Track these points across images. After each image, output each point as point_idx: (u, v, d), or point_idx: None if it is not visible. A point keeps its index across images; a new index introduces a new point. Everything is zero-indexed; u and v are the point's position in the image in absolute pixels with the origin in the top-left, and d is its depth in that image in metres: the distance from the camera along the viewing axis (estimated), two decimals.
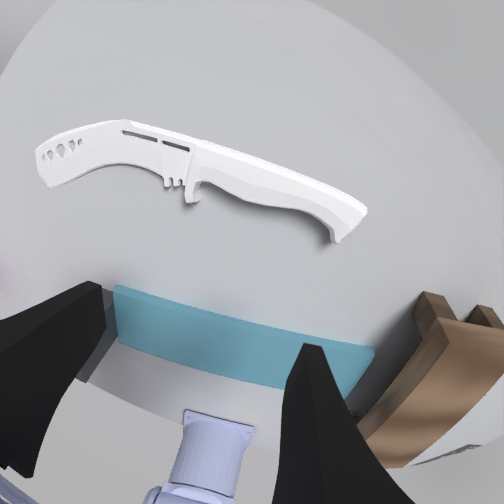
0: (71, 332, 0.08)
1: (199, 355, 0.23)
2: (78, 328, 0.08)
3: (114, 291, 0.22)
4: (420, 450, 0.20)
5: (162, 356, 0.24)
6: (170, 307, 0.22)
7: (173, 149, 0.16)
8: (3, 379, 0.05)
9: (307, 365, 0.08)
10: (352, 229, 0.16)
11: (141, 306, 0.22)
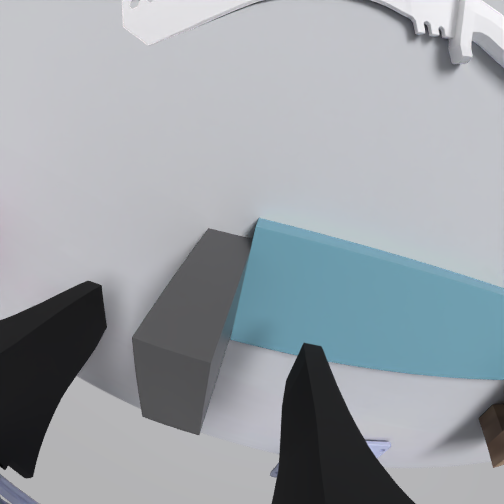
0: (71, 331, 0.08)
1: (390, 344, 0.13)
2: (78, 328, 0.08)
3: (258, 227, 0.11)
4: None
5: None
6: (375, 255, 0.11)
7: None
8: (3, 379, 0.05)
9: (307, 365, 0.08)
10: None
11: (317, 256, 0.12)
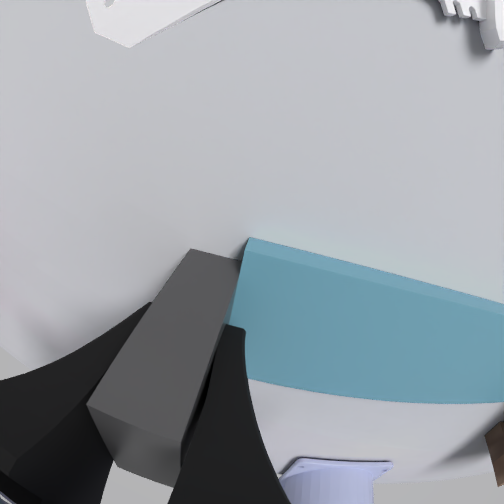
0: None
1: (399, 375, 0.11)
2: None
3: (248, 251, 0.09)
4: None
5: (318, 389, 0.12)
6: (387, 282, 0.09)
7: None
8: (80, 428, 0.05)
9: (218, 344, 0.08)
10: None
11: (319, 285, 0.10)
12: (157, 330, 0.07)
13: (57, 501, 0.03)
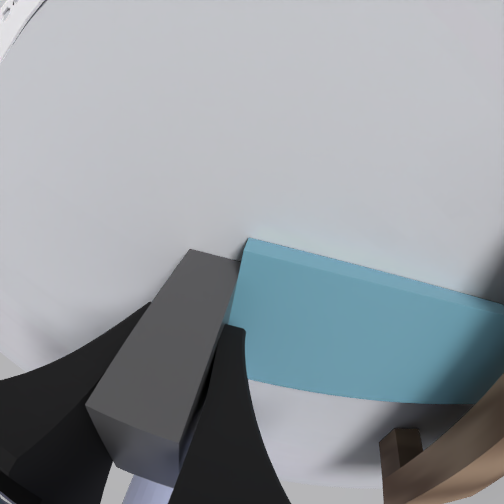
0: None
1: (398, 376, 0.11)
2: None
3: (247, 251, 0.09)
4: None
5: (317, 389, 0.12)
6: (387, 283, 0.09)
7: None
8: (80, 428, 0.05)
9: (218, 344, 0.08)
10: None
11: (318, 285, 0.10)
12: (156, 331, 0.07)
13: (57, 501, 0.03)
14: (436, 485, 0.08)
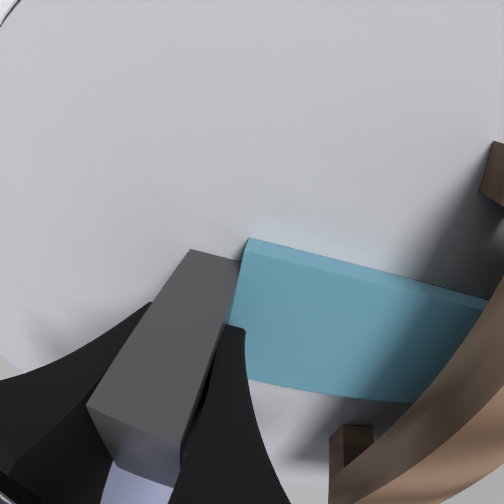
0: None
1: (398, 376, 0.11)
2: None
3: (248, 251, 0.09)
4: (477, 478, 0.08)
5: (317, 389, 0.12)
6: (387, 283, 0.09)
7: None
8: (80, 428, 0.05)
9: (218, 344, 0.08)
10: None
11: (319, 286, 0.10)
12: (156, 331, 0.07)
13: (57, 501, 0.03)
14: (372, 492, 0.08)
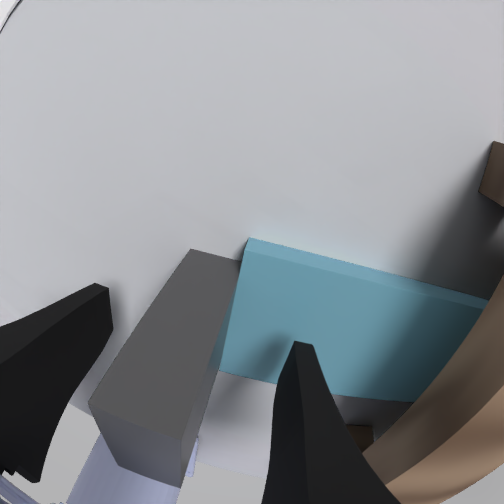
0: (78, 335, 0.08)
1: (398, 375, 0.11)
2: (85, 331, 0.08)
3: (248, 251, 0.09)
4: (477, 478, 0.08)
5: None
6: (386, 282, 0.09)
7: None
8: (10, 384, 0.05)
9: (297, 363, 0.08)
10: None
11: (319, 284, 0.10)
12: (158, 329, 0.07)
13: None
14: None
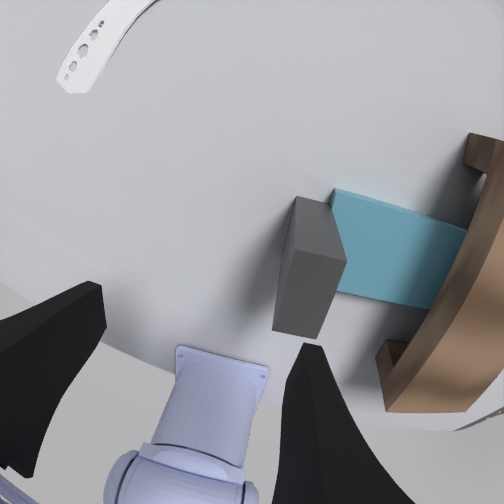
0: (71, 331, 0.08)
1: (425, 283, 0.17)
2: (78, 328, 0.08)
3: (338, 193, 0.16)
4: (492, 375, 0.14)
5: (373, 295, 0.18)
6: (413, 214, 0.15)
7: None
8: (3, 379, 0.05)
9: (307, 365, 0.08)
10: None
11: (376, 214, 0.16)
12: (308, 225, 0.13)
13: None
14: (422, 366, 0.14)
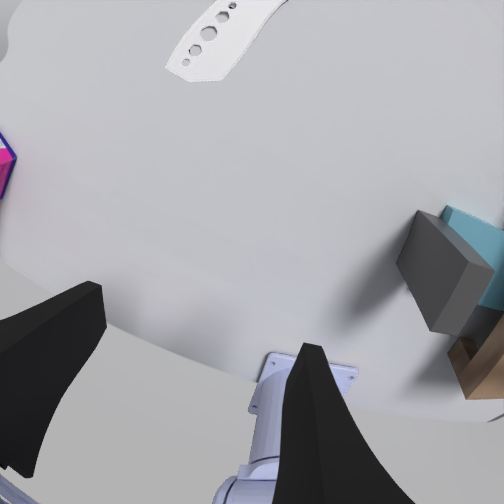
0: (71, 331, 0.08)
1: (498, 288, 0.17)
2: (78, 328, 0.08)
3: (454, 210, 0.15)
4: None
5: None
6: (499, 230, 0.15)
7: None
8: (3, 379, 0.05)
9: (307, 365, 0.08)
10: None
11: (477, 229, 0.15)
12: (453, 239, 0.13)
13: None
14: (502, 356, 0.14)
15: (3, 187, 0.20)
